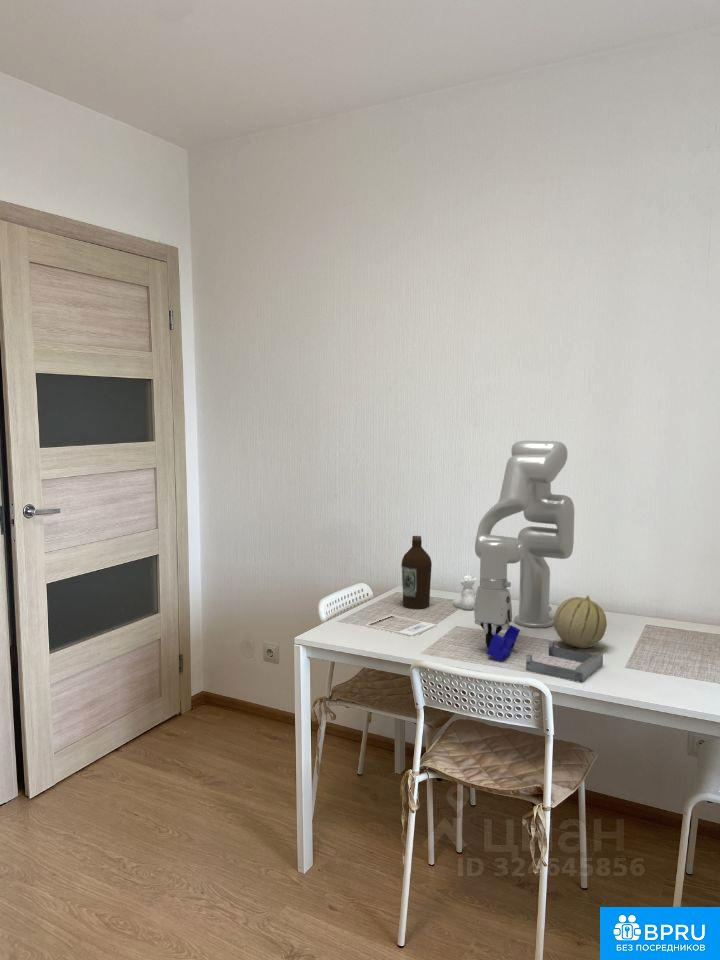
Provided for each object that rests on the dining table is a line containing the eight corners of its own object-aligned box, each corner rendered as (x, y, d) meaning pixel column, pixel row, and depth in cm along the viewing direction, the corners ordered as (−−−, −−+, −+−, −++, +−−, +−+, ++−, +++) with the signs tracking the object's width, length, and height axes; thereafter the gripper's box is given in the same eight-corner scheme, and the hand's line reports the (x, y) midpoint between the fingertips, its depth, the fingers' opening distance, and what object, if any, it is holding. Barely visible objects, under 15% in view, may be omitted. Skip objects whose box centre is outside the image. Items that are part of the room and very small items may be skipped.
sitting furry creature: (478, 604, 261) (478, 571, 260) (484, 611, 252) (484, 577, 251) (452, 605, 260) (452, 572, 259) (457, 611, 252) (457, 577, 250)
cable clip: (500, 661, 200) (507, 643, 198) (486, 653, 202) (493, 634, 201) (517, 650, 210) (524, 632, 208) (504, 642, 212) (511, 624, 211)
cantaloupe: (544, 647, 213) (545, 597, 212) (567, 635, 224) (568, 588, 223) (592, 658, 203) (594, 605, 202) (614, 646, 214) (615, 596, 213)
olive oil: (415, 600, 266) (416, 532, 264) (437, 606, 258) (438, 536, 256) (395, 605, 259) (395, 536, 257) (417, 611, 251) (417, 539, 249)
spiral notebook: (411, 634, 222) (365, 624, 233) (411, 638, 223) (365, 627, 234) (437, 623, 234) (391, 614, 245) (436, 627, 234) (391, 617, 245)
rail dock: (550, 654, 206) (550, 640, 206) (602, 665, 197) (603, 651, 197) (525, 670, 194) (526, 655, 193) (580, 682, 185) (581, 667, 184)
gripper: (523, 585, 205) (521, 649, 206) (476, 578, 214) (475, 639, 215) (511, 589, 199) (509, 655, 200) (463, 582, 208) (462, 644, 209)
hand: (491, 646), depth 208 cm, fingers closed
